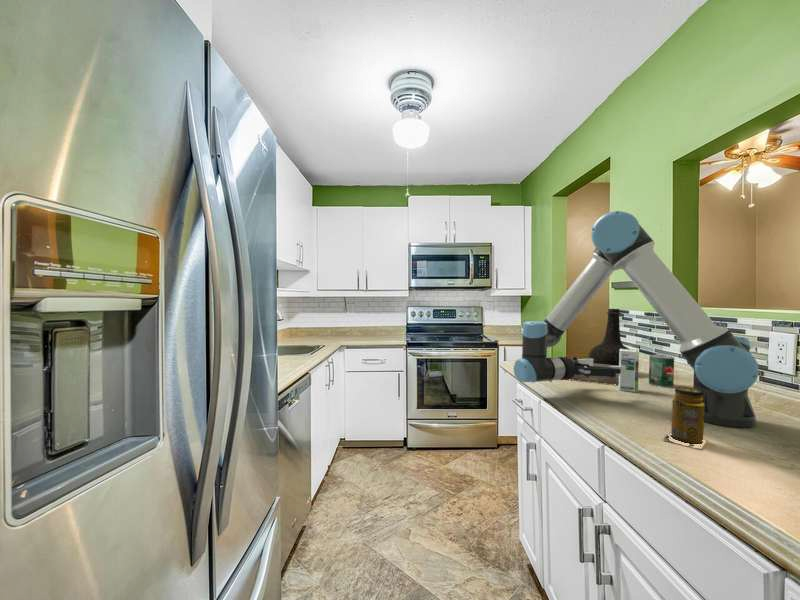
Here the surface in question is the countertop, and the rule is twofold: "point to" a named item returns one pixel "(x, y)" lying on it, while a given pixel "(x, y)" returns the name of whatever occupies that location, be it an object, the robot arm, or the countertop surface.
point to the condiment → (687, 416)
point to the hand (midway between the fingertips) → (607, 366)
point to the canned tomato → (661, 370)
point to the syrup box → (629, 370)
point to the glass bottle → (609, 342)
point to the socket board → (598, 377)
